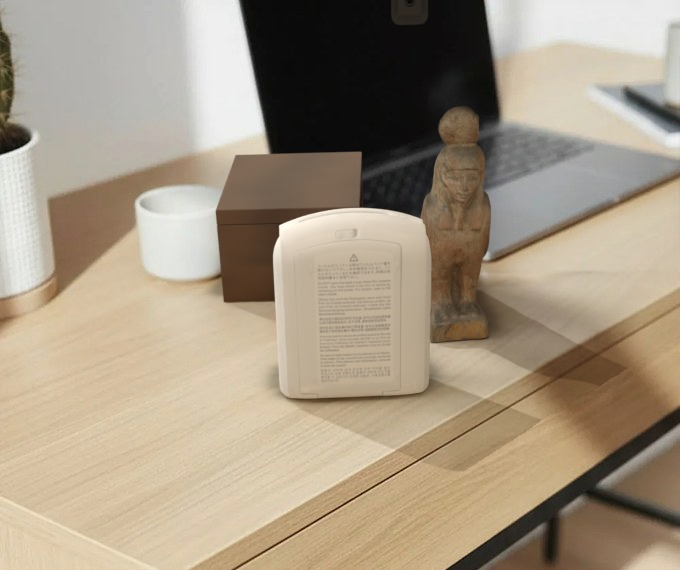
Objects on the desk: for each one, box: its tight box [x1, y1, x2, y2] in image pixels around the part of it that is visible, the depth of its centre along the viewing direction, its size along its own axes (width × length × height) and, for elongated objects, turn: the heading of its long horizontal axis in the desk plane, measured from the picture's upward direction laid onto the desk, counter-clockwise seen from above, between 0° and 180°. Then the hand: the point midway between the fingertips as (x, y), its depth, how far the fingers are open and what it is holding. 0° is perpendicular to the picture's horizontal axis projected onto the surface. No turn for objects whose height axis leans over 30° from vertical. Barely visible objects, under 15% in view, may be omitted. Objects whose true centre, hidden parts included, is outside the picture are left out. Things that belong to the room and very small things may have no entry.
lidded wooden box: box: [215, 151, 364, 303], centre depth 100 cm, size 11×15×8 cm
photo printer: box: [273, 207, 431, 399], centre depth 79 cm, size 10×4×12 cm, turn 93°
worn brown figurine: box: [420, 105, 492, 343], centre depth 88 cm, size 12×6×18 cm, turn 2°
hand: (408, 11), depth 77 cm, fingers open, 8 cm apart
